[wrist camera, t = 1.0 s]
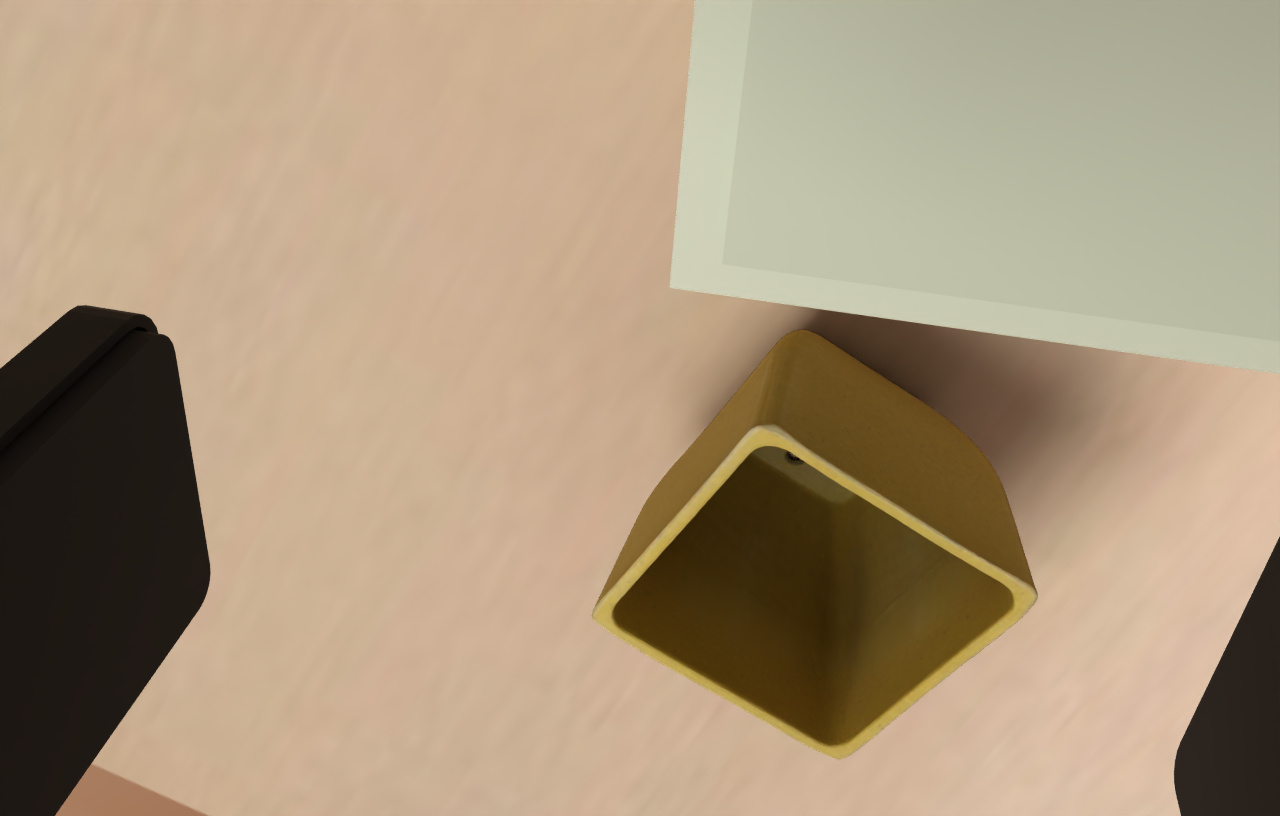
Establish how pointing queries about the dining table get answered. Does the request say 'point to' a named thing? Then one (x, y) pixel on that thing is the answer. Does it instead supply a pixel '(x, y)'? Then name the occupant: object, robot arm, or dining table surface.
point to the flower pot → (821, 552)
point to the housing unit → (993, 167)
